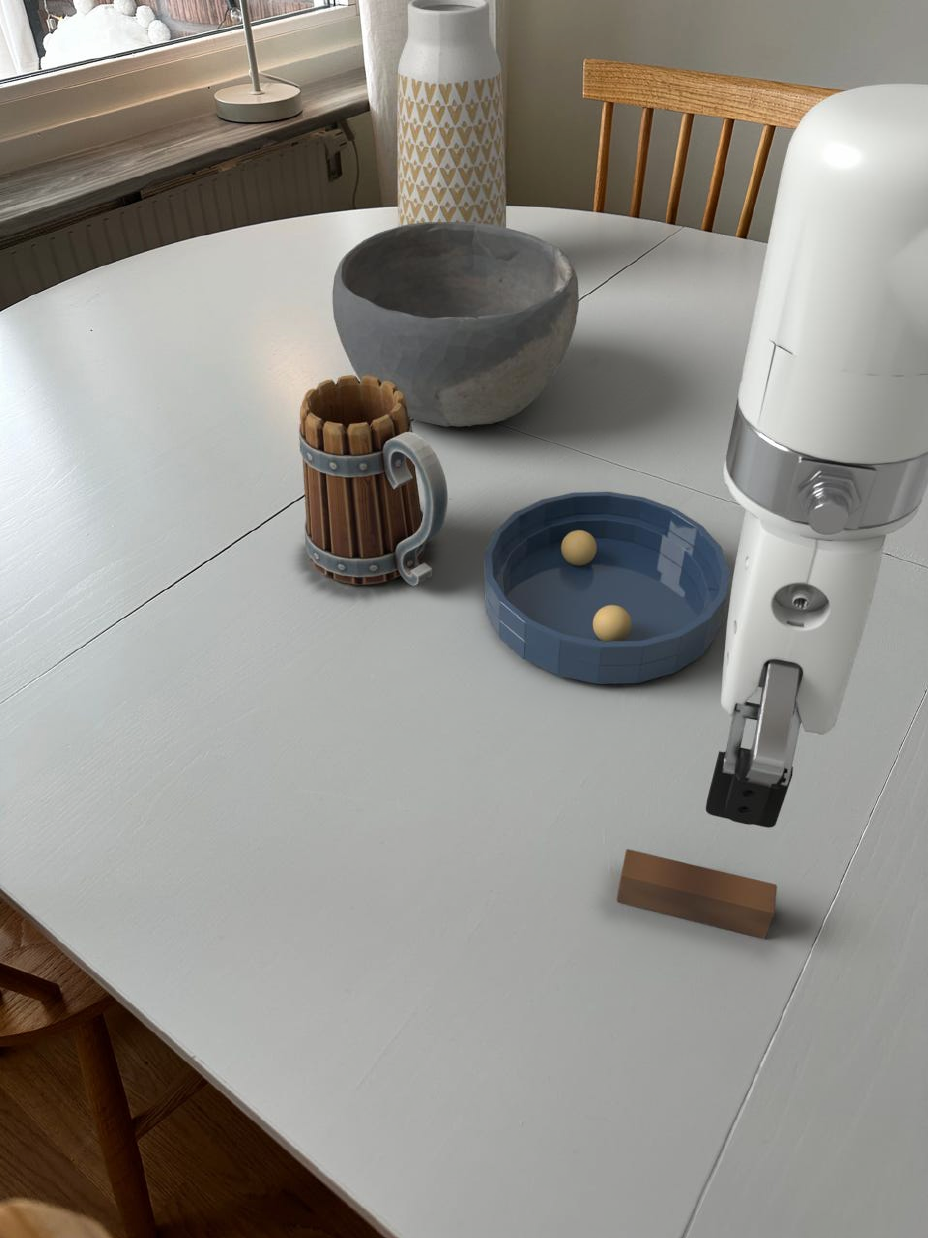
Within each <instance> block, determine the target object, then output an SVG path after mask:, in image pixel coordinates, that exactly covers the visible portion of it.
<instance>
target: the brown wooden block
mask: <svg viewBox="0 0 928 1238" xmlns="http://www.w3.org/2000/svg"><path fill="white" fill-rule="evenodd" d="M777 888H778V887H777V884H776V883H771V882H767V881H763V880H759V879H754V878H751V877H746V876H742V875H738V874H734V873H729V872H725V871H721V870H717V869H713V868H708V867H704V866H701V865H700V866H699V865H695V864H692V863H687V862H684V861H680V860H679V861H678V860H675V859H671V858H668V857H667V858H666V857H662V856H658V855H653V854H649V853H645V852H642V851H637V850H634V849H629V848H626V849H625V854H624V858H623V864H622V868H621V872H620V879H619V883H618V889H617V894H616V902H617V903H620V904H623V905H628V906H632V907H636V908H639V909H644V910H648V911H652V912H656V913H660V914H663V915H664V914H665V915H667V916H672V917H674V918H675V917H676V918H680V919H684V920H687V921H692V922H695V923H699V924H703V925H708V926H711V927H715V928H719V929H724V930H727V931H732V932H735V933H740V934H744V935H748V936H751V937H756V938H759V939H765V938H766V937H767V934H768V932H769V929H770V926H771V924H772V921H773V919H774V916H775V913H776V902H777V901H776V900H777Z"/></svg>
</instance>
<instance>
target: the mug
mask: <svg viewBox="0 0 928 1238" xmlns="http://www.w3.org/2000/svg"><path fill="white" fill-rule="evenodd" d="M299 407H300V408H299V422H300V423H299V426H298V427H299V428H298V440H299V441H298V442H299V452H300V455H301V458H302V471H303V472H302V474H303V487H304V489H303V490H304V504H305V517H306V518H305V522H304V540H305V541H304V542H305V548H306V551H307V554H308V557H309V561H311V562H312V563H313V567H314V568H316V570H317V571H318V572H320V573H321V574H323V575H324V576H325V577H328V578H330V579H332V580H334V581H337V582H341V583H344V584H347V585H348V584H349V585H358V586H364V585H365V586H367V585H377V584H381V583H387V582H390V581H392V580H395V579H397V578H399V577H401V578H403V580H404V581H405V582H406V583H408V584H409V585H410V586H417V585H418V584H420V583H421V582H422V583H423V582H424V581H425V580H427V579H429V578H431V577H432V575H433V568H432V567H431V566H430V565H428V564H427V563H425V562H423V563H421V564H420V563H419V562H420V560H421V559H422V558H423V556H424V554H425V551H426V550H425V546H426V543H427V542H429V541H431V540H432V539H434V538H435V537H436V536H437V535H439V534H440V533H441V530H442V529H443V527H444V525H445V522H446V518H447V510H448V501H449V498H448V496H449V495H448V494H449V493H448V485H447V480H446V476H445V472H444V469H443V466H442V465H441V462H440V459H439V458H438V456H437V454H436V452H435V450H434V449H433V448H432V447H431V445H430V444H429V443H428V442H427V441H426V440H425V438H423V437H421V436H420V435H419V434H417V433H414V432H413V427H412V419H410V417H409V416H408V411H407V404H406V399H405V398H404V396H403V394H402V392H400V391H399V390H398V389H397V387H396V386H395V384H393V383H391V382H389V381H383V382H382V383H381V381H380V380H379V379H378V378H377V377H374V376H363V377H362V379H361V381H360V379H359V378H358V376H357V375H353V374H350V375H342V376H340V377H338V379H337V381H336V383H335V381H334V380H333V379H325V380H323V381H321V382H319V383H318V384H317V387H316V388H311V389H308V390H307V392H306V393H305V394H304V396H303V399H302V401H301V405H300V406H299ZM416 471H417V472H416ZM417 473H418V476H419V479H420V481H421V484H422V485H421V486H422V488H423V489H422V490H423V498H424V499H423V500H424V502H423V503H424V504H423V511H422V508H421V500H420V493H419V492H420V491H419V485H418V478H417Z"/></svg>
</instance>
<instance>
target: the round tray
mask: <svg viewBox="0 0 928 1238" xmlns="http://www.w3.org/2000/svg"><path fill="white" fill-rule="evenodd" d="M576 530H582V531H586V532H588V533H589V534H591V535H592V536H593V538H594V539H595V541H596V545H597V551H596V554H595V556H594V558H593V559H592V560H591V561H590V562H589V563H587V564H585V565H580V566H578V565H573V564H571V563H569V562H568V561H566V559H565V558H564V557H563V555H562V551H561V545H562V541H563V539H564V538H565V537H566V535H568V534H569V533H570V532H572V531H576ZM730 575H731V571H730V567H729V564H728V563H727V559H726V557H725V554H724V550H723V548H722V546H721V545H720V544H719V543H718V541H716V539H715V538H714V537H713V536H712V535H711V534H710V532H708V530H707V529H706V528H705V526H704V525H702V524H700V523H698V522H697V521H696V520H695V519H692V518H691V517H689V516H688V515H686V514H685V513H683V512H681V511H680V510H679V509H677V508H674V507H671V506H668V505H666V504H663V503H661V502H658V501H655V500H653V499H649V498H646V497H644V496H638V495H632V494H626V493H620V492H614V491H582V492H581V491H580V492H579V491H578V492H576V491H575V492H570V493H564V494H560V495H556V496H552V497H546V498H543V499H539V500H538V501H535V502H534V503H533V502H532V504H529V505H527V506H525V507H523V508H521V509H519V510H517V511H515V512H513V513H512V514H511V515H510V516H509V517H508V518H507V519H506V520H505V521H503V523H501V524H500V525H499V526H498V527H497V528H496V529H495V530H494V532H493V534H492V536H491V539H490V541H489V542H488V545H487V546H486V550H485V552H484V577H483V578H484V580H483V581H484V584H483V585H484V586H483V587H484V588H483V591H484V605H485V615H486V616H487V618H488V620H489V622H490V624H491V626H492V627H493V629H494V631H495V633H496V636H497V637H498V639H500V641H502V642H503V643H504V644H505V645H506V646H507V647H509V648H510V649H511V650H512V651H513V652H514V653H515V654H516V655H518V656H519V657H520V658H521V659H523V660H524V661H526V662H528V663H530V664H532V665H534V666H537V667H538V668H540V669H543V670H546V671H547V672H549V673H551V674H554V675H556V676H558V677H563V678H567V679H572V680H577V681H581V682H586V683H592V684H596V685H597V684H599V685H606V684H607V685H608V684H609V685H610V684H611V685H612V684H639V683H642V682H647V681H650V680H654V679H657V678H661V677H666V676H668V675H672V674H675V673H676V672H678V671H679V670H681V669H683V668H684V667H686V666H687V665H689V664H691V663H692V662H693V661H695V660H697V659H698V658H700V657H702V655H703V654H704V652H706V650H707V649H708V647H709V646H710V645H711V644H712V642H713V640H715V638H716V636H717V635H718V633H719V630H720V626H721V621H722V617H723V613H724V608H725V605H726V604H725V603H726V600H727V596H728V595H727V594H728V589H729V582H730ZM609 605H616V606H620V607H622V608H623V609H625V610H626V611H627V612H628V614H629V615H630V617H631V621H632V628H631V631H630V633H629V635H628V636H627V638H626V639H624V640H623V641H614V642H603V641H602V640H600V639H599V638H598V637H597V636H596V634H595V632H594V629H593V620H594V617H595V615H596V613H597V612H598V611H599V610H600V609H601V608H603V607H605V606H609Z"/></svg>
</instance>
